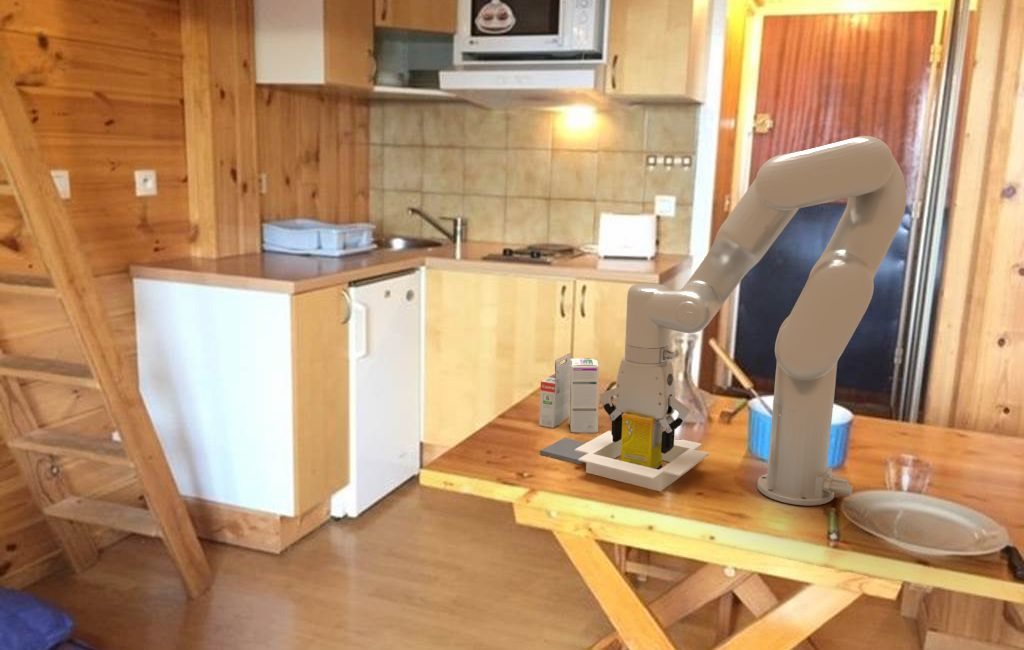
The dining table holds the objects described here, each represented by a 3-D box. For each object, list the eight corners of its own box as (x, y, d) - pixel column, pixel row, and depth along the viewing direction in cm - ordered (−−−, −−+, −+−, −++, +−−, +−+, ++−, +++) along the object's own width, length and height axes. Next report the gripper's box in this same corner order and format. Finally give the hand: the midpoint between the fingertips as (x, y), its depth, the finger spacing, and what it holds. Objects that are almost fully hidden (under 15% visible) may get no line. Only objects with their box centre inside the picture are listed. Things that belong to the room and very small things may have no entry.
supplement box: (632, 461, 160) (634, 405, 157) (662, 467, 157) (665, 410, 154) (619, 471, 155) (621, 413, 152) (650, 478, 152) (653, 419, 149)
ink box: (538, 426, 179) (539, 358, 176) (554, 416, 186) (555, 350, 183) (554, 429, 177) (555, 360, 174) (569, 418, 184) (571, 352, 181)
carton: (716, 465, 158) (717, 447, 157) (669, 501, 142) (670, 481, 141) (617, 442, 170) (617, 425, 169) (563, 473, 153) (563, 455, 152)
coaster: (604, 450, 165) (604, 446, 165) (580, 464, 158) (581, 460, 157) (564, 441, 170) (564, 437, 170) (539, 454, 163) (540, 450, 162)
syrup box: (598, 433, 175) (600, 364, 172) (569, 433, 175) (571, 364, 172) (596, 424, 180) (598, 358, 177) (568, 424, 180) (570, 357, 177)
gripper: (700, 357, 149) (694, 449, 153) (612, 343, 159) (609, 430, 163) (683, 365, 143) (677, 462, 147) (593, 350, 153) (589, 441, 156)
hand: (641, 445), depth 155 cm, fingers open, 9 cm apart
